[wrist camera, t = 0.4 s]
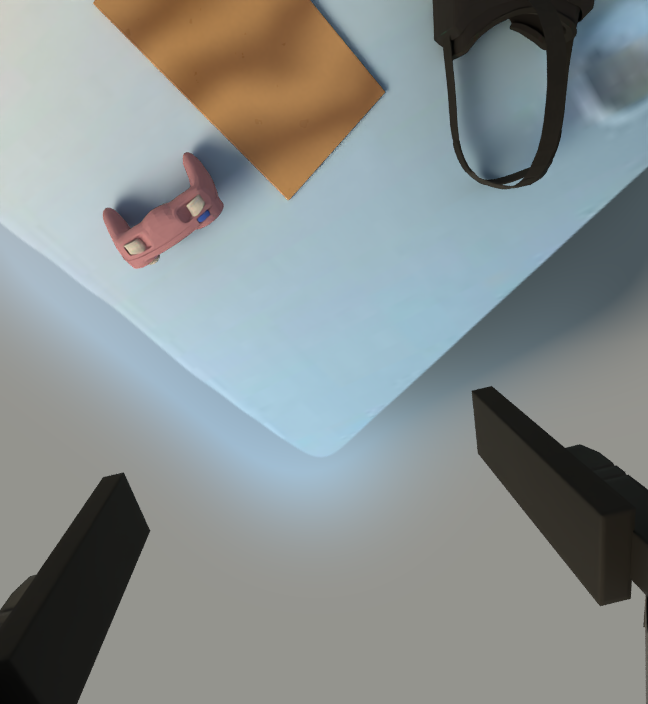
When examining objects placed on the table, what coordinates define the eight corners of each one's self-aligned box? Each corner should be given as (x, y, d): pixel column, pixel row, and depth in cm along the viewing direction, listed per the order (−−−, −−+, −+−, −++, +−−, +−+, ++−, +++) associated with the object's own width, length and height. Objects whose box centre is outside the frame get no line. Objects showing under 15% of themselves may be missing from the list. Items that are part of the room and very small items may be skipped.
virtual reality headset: (564, -54, 33) (673, -132, 24) (540, 176, 40) (616, 183, 31) (427, -38, 32) (485, -112, 23) (428, 192, 40) (473, 203, 31)
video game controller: (137, 248, 39) (137, 288, 34) (98, 209, 35) (91, 246, 31) (224, 189, 38) (236, 221, 33) (191, 144, 35) (200, 171, 30)
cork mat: (95, 6, 31) (92, 3, 31) (196, -136, 29) (194, -142, 29) (288, 200, 37) (288, 200, 37) (384, 93, 35) (385, 91, 35)
